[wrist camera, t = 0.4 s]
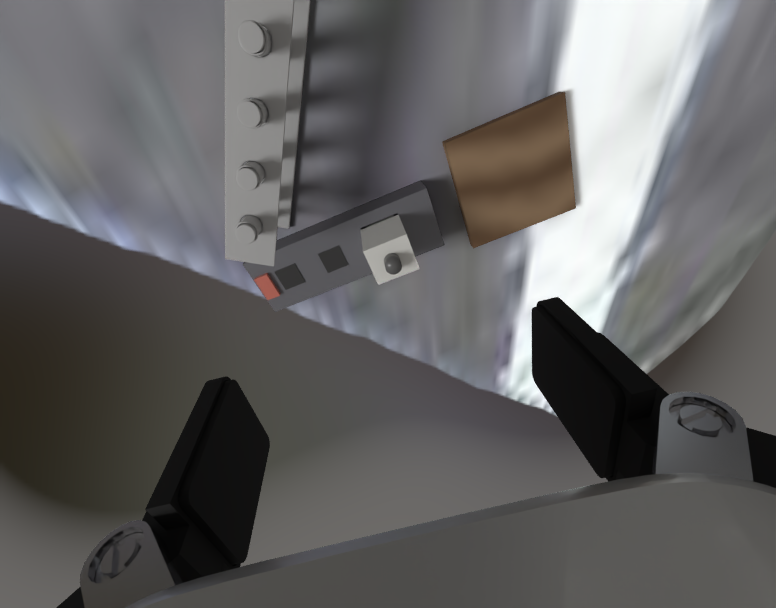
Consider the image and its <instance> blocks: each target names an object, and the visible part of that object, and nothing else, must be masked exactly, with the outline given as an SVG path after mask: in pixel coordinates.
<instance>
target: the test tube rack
mask: <svg viewBox="0 0 776 608" xmlns="http://www.w3.org/2000/svg"><path fill="white" fill-rule="evenodd" d="M310 4H311V0H225V259H229V260H235V261H242V262H248V263H255V264H261V265H268V266H274V265H275V254H276V240H277V227H281V228H287V229H289V227H290V220H291V209H292V198H293V187H294V177H295V166H296V155H297V144H298V133H299V122H300V112H301V101H302V90H303V79H304V68H305V58H306V47H307V36H308V25H309V14H310ZM250 98H254V99H250ZM247 161H248V162H247ZM245 162H247V163H246V164H245V165H244V163H245ZM243 216H244V218H243ZM242 218H243V219H242ZM241 219H242V221H241Z"/></svg>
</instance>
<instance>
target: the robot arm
mask: <svg viewBox="0 0 776 608" xmlns="http://www.w3.org/2000/svg"><path fill="white" fill-rule="evenodd" d="M532 375H533V379H534V381H535V383H536V385H537V387H538V388H539V389H540V391H541V392H542V394H543V395H544V397H545V398H546V400H547V401H548V403H549V404H550V406H551V407H552V409H553V410H554V412H555V413H556V415H557V416H558V417H559V419H560V420H561V422H562V424H563V425H564V426H565V428H566V429H567V431H568V432H569V434H570V435H571V437H572V438H573V440H574V441H575V443H576V444H577V446H578V447H579V449H580V450H581V452H582V453H583V454H584V456H585V458H586V459H587V460H588V462H589V463H590V465H591V466H592V468H593V469H594V471H595V472H596V474H597V475H598V476H599V477H600V478H606V479H607V480H608V482H605V483H600V484H595V485H590V486H585V487H581V488H576V489H571V490H566V491H562V492H557V493H552V494H548V495H543V496H539V497H535V498H530V499H526V500H521V501H517V502H513V503H509V504H504V505H500V506H495V507H491V508H487V509H483V510H478V511H474V512H469V513H465V514H460V515H456V516H452V517H448V518H443V519H439V520H435V521H430V522H427V523H422V524H417V525H413V526H409V527H405V528H400V529H396V530H392V531H388V532H384V533H379V534H375V535H371V536H367V537H362V538H358V539H354V540H350V541H345V542H341V543H338V544H333V545H329V546H324V547H320V548H316V549H312V550H308V551H304V552H300V553H296V554H291V555H287V556H283V557H279V558H275V559H270V560H266V561H263V562H259V563H254V564H250V565H246V566H243V567H240V564H241V563H243V562H244V561H245V559H246V557H247V554H248V549H249V544H250V539H251V535H252V530H253V525H254V520H255V515H256V510H257V506H258V501H259V496H260V491H261V486H262V481H263V476H264V472H265V467H266V462H267V457H268V452H269V447H270V443H269V437H268V435H267V433H266V432H265V430H264V428H263V426H262V425H261V423H260V421H259V419H258V418H257V416H256V414H255V413H254V411H253V409H252V407H251V405H250V404H249V402H248V400H247V398H246V397H245V395H244V393H243V391H242V390H241V388H240V386H239V384H238V383H237V381H235V380H231V379H230V378H229V377H222V378H218V379H213V380H209V381H207V382H206V383H205V385H204V387H203V389H202V391H201V394H200V396H199V398H198V400H197V402H196V404H195V406H194V408H193V410H192V412H191V415H190V417H189V419H188V421H187V423H186V425H185V427H184V429H183V431H182V433H181V435H180V438H179V440H178V442H177V444H176V446H175V448H174V450H173V452H172V454H171V456H170V459H169V461H168V463H167V465H166V467H165V469H164V471H163V473H162V475H161V478H160V480H159V482H158V484H157V486H156V488H155V490H154V492H153V494H152V497H151V498H150V501H149V503H148V505H147V507H146V513H145V516H144V518H143V520H142V521H141V520H137V521H131V522H128V523H126V524H124V525H121V526H120V527H118V528H117V529H115V530H114V531H112V532H110V533H109V534H108V535H107V536H106V537H105V538H104V539H103V540H101V541H100V542H99V544H98V545H97V546H96V547H95V548H94V549H93V551H92V552H91V553H90V555H89V556H88V558H87V560H86V561H85V563H84V566H83V568H82V571H81V574H80V586H81V587H80V588H79V589H77V590H76V591H75V592H74V593H73V594H72V595H70V596H69V597H68V598H67V599H66V600H65V601H64V602H63V603H61V604H60V605H59V606H58V607H57V608H776V436H774V435H771V434H767V433H763V432H760V431H757V430H753V429H749V428H746V426H745V423H744V421H743V418H742V417H741V416H740V415H739V414H738V413H737V411H736V410H735V409H733V408H732V407H730V406H729V405H728V404H726V403H724V402H722V401H720V400H718V399H716V398H714V397H711V396H708V395H704V394H701V393H694V392H676V393H674V394H671V395H669V394H668V393H667V392H665V391H664V390H663V389H662V388H661V387H660V386H659V385H658V384H657V383H655V382H654V381H653V380H652V379H651V378H650V377H649V376H648V375H647V374H646V373H645V372H643V371H642V370H641V369H640V368H639V367H638V366H637V365H636V364H635V363H634V362H632V361H631V360H630V359H629V358H628V357H627V356H626V355H625V354H624V353H623V352H621V351H620V350H619V349H618V348H617V347H616V346H615V345H614V344H613V343H612V342H610V341H609V340H608V339H607V338H606V337H605V336H604V335H602V334H601V333H598V332H596V331H595V330H594V329H592V328H591V327H590V326H589V325H588V324H587V323H586V322H585V321H584V320H583V319H582V318H581V317H579V316H578V315H577V314H576V313H575V312H574V311H573V310H572V309H571V308H570V307H569V306H568V305H566V304H565V303H564V302H563V301H562V300H561V299H560V298H558V297H555V298H551V299H547V300H543V301H539V302H538V303H537V307H534V308H532Z"/></svg>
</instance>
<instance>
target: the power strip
mask: <svg viewBox="0 0 776 608" xmlns="http://www.w3.org/2000/svg"><path fill="white" fill-rule="evenodd" d="M391 215H394V216H396V215H399V217H400V219H401V222H402V224H403V227H404V229H405V232H406V234H407V237H408V239H409V242H410V245H411V247H412V250H413V253H414V255H415V256H418V255H421V254H423V253H426V252H428V251H431V250H433V249H436V248H438V247H441V246H443V245H445V244H444V241H443V238H442V235H441V232H440V229H439V226H438V222H437V219H436V216H435V213H434V210H433V207H432V204H431V200H430V197H429V194H428V191H427V188H426V187H425V185H424V184H423V183H422V182H421V181H418V182H416V183H413V184H411V185H409V186H406V187H404V188H401V189H399V190H397V191H394V192H392V193H389V194H387V195H385V196H382V197H380V198H378V199H375V200H373V201H370V202H368V203H366V204H363V205H361V206H358V207H356V208H354V209H351V210H349V211H346V212H344V213H342V214H339V215H337V216H334V217H332V218H330V219H327V220H325V221H322V222H320V223H318V224H315V225H313V226H310V227H308V228H306V229H303V230H301V231H298V232H296V233H294V234H291V235H289V236H286V237H284V238H282V239H279V240H277V241H276V254H275V265H274V266H268V265H261V264H255V263H248V262H244V263H243V266H244V267H245V268H246V270H247V271H248V273H249V274H250V276H251V277H252V279H253V280H254V282H255V283H256V285H257V286H258V288H259V289H260V291H261V292H262V294H263V295H264V296H265V298H266V299H267V301H268V302H269V304H270V305H271V307H272V308H273V310H274V311H275V312H276V311H279V310H281V309H284V308H286V307H289V306H291V305H294V304H296V303H299V302H301V301H304V300H306V299H309V298H312V297H314V296H317V295H319V294H322V293H324V292H327V291H329V290H332V289H334V288H337V287H339V286H342V285H344V284H347V283H350V282H352V281H355V280H357V279H360V278H362V277H365V276H367V275H370V274H372V273H373V272H372V270H371V268H370V266H369V264H368V261H367V259H366V257H365V255H364V253H363V247H362V238H361V230H362V229H364V228H366V226H367V225H369V224H372V223H374V222H377V221H379V220H382V219H384V218H386V217H389V216H391Z"/></svg>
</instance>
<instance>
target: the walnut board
mask: <svg viewBox="0 0 776 608" xmlns="http://www.w3.org/2000/svg"><path fill="white" fill-rule="evenodd" d="M443 146H444V150H445V153H446V157H447V161H448V164H449V168H450V172H451V175H452V179H453V182H454V186H455V190H456V193H457V197H458V201H459V204H460V208H461V212H462V215H463V219H464V222H465V226H466V230H467V233H468V237H469V241H470V244H471V246H472V247H473V248H475V247H478V246H480V245H483V244H485V243H488V242H490V241H493V240H496V239H498V238H501V237H503V236H506V235H508V234H511V233H514V232H516V231H519V230H521V229H524V228H526V227H529V226H531V225H534V224H537V223H539V222H542V221H544V220H547V219H549V218H552V217H555V216H557V215H560V214H562V213H565V212H567V211H570V210H573V209H575V208H576V205H575V194H574V183H573V172H572V162H571V151H570V140H569V130H568V119H567V108H566V98H565V92H557V93H555V94H553V95H550V96H548V97H546V98H543V99H541V100H539V101H536V102H534V103H532V104H529V105H527V106H525V107H522V108H520V109H518V110H515V111H513V112H511V113H508V114H506V115H504V116H501V117H499V118H497V119H494V120H492V121H490V122H487V123H485V124H482V125H480V126H478V127H475V128H473V129H471V130H468V131H466V132H464V133H461V134H459V135H457V136H454V137H452V138H450V139H447V140H445V141H443Z"/></svg>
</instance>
